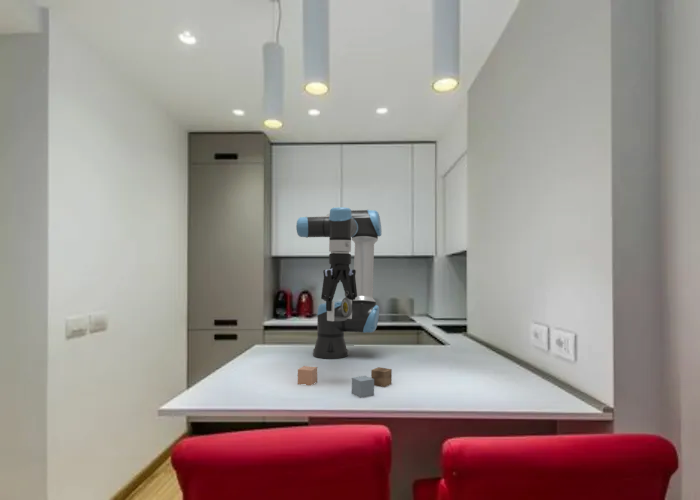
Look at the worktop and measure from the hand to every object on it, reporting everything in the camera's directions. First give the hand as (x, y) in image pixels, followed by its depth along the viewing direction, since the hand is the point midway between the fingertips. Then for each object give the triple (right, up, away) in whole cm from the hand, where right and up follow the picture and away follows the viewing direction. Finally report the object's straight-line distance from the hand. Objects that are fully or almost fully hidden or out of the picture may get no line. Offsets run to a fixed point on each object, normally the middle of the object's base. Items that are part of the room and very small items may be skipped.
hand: (339, 319), depth 153 cm
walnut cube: (+14, -21, -3) cm, 26 cm away
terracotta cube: (-11, -21, -2) cm, 24 cm away
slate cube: (+8, -21, -14) cm, 27 cm away
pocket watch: (0, -1, 0) cm, 1 cm away
